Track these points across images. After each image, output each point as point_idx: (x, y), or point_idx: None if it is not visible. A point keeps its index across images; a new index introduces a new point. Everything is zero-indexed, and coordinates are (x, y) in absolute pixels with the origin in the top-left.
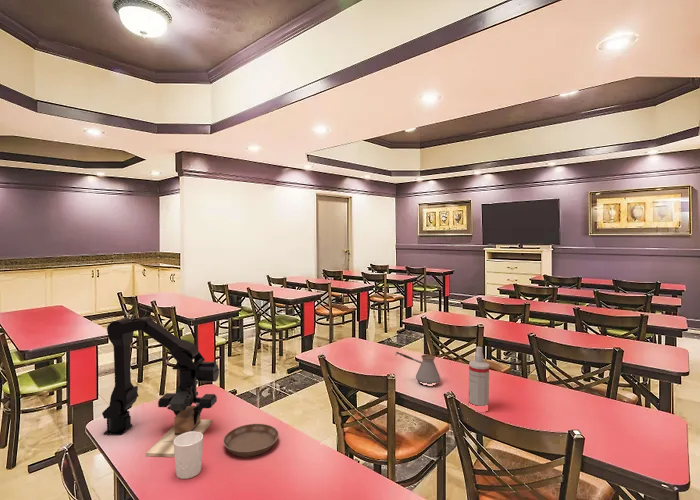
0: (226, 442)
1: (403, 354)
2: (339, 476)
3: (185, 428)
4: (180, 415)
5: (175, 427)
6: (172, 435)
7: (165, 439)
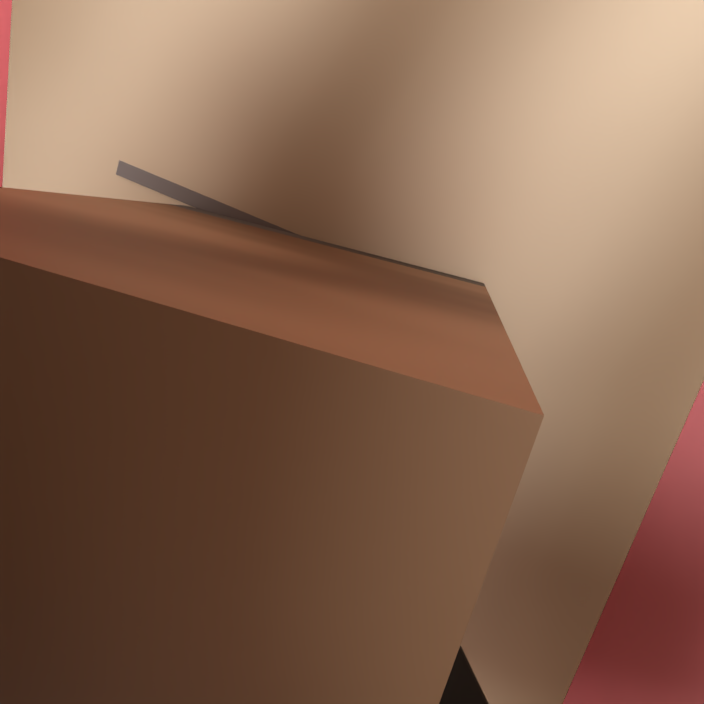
0: None
1: None
2: None
3: (174, 214)
4: (183, 592)
5: (460, 298)
6: (524, 266)
7: (662, 100)
